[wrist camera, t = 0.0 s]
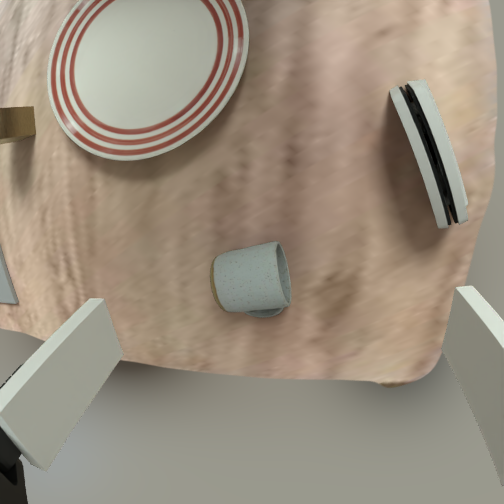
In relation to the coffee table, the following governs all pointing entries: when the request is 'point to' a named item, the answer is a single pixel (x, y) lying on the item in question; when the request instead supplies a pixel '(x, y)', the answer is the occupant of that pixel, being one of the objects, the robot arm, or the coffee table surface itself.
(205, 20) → the dinner plate
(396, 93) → the napkin holder
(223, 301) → the ceramic mug
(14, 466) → the robot arm
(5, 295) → the grey pad
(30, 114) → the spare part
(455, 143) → the coffee table surface
